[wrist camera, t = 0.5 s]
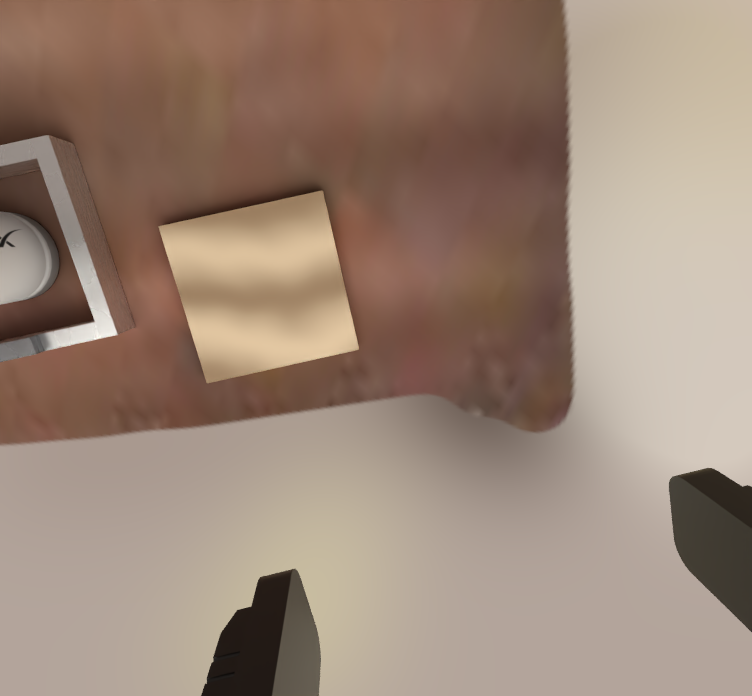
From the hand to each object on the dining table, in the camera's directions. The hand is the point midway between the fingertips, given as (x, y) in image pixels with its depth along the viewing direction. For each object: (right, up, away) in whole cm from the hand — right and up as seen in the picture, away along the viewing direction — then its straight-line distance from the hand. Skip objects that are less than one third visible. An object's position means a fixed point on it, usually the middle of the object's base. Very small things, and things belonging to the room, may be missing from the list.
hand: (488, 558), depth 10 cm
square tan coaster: (-11, +9, +27) cm, 30 cm away
